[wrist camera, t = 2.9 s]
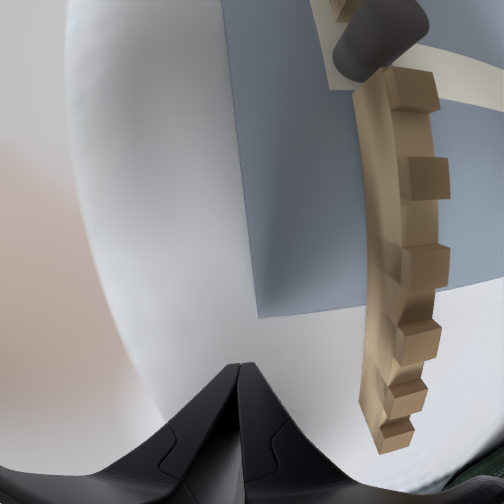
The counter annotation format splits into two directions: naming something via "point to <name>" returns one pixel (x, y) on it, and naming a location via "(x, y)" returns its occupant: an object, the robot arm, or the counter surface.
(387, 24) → the fixed fence section
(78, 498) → the robot arm
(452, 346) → the counter surface
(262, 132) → the card
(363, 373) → the folding fence panel
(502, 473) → the coffee jar
